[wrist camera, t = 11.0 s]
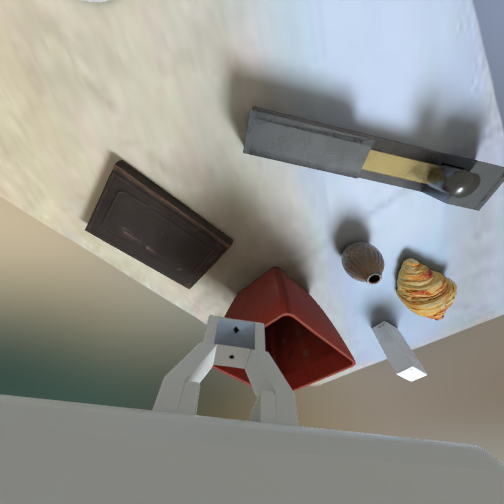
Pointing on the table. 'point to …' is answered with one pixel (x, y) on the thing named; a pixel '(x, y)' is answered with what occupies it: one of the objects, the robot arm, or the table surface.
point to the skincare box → (398, 352)
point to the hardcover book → (155, 227)
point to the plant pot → (290, 330)
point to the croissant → (424, 290)
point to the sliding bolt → (424, 173)
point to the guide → (355, 154)
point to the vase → (363, 262)
